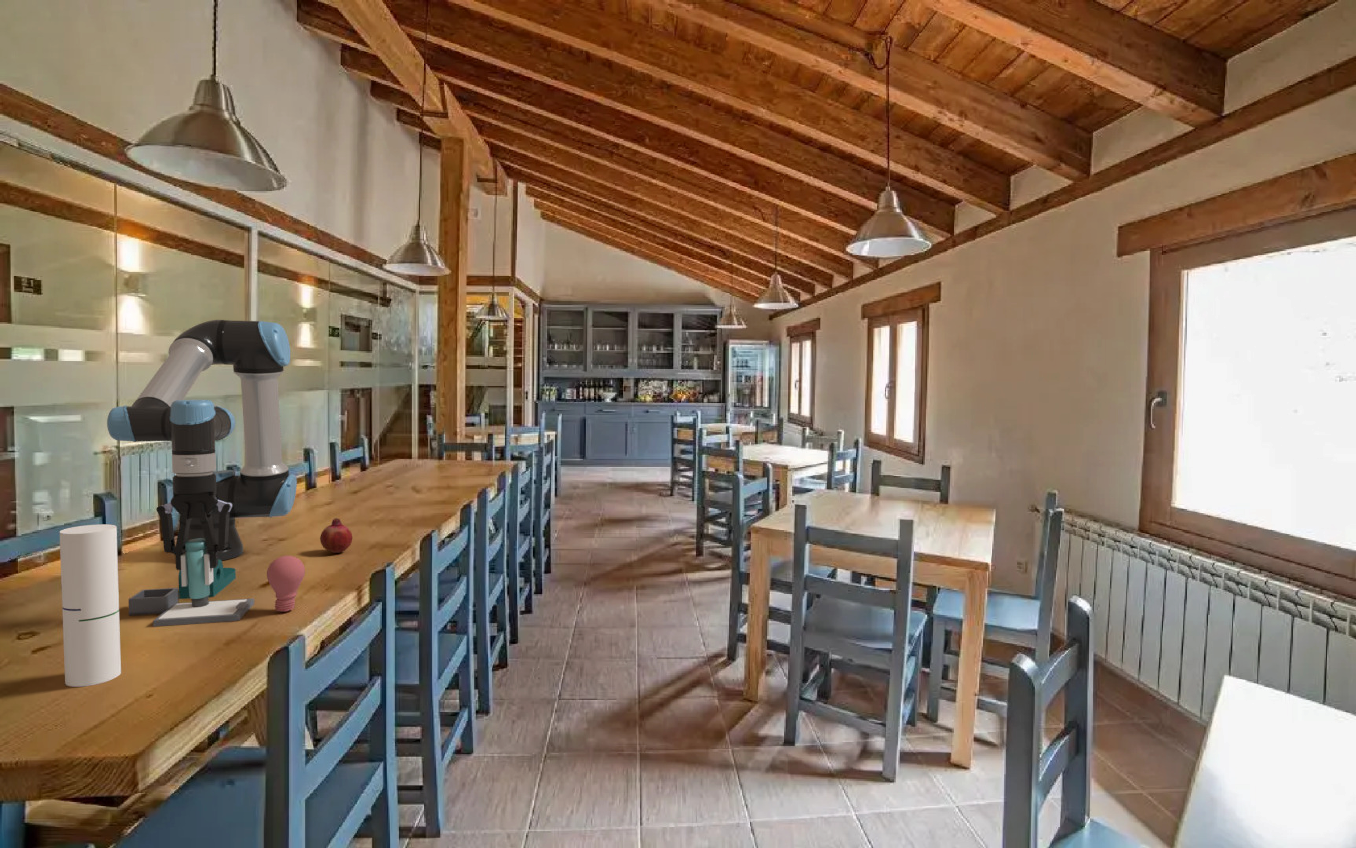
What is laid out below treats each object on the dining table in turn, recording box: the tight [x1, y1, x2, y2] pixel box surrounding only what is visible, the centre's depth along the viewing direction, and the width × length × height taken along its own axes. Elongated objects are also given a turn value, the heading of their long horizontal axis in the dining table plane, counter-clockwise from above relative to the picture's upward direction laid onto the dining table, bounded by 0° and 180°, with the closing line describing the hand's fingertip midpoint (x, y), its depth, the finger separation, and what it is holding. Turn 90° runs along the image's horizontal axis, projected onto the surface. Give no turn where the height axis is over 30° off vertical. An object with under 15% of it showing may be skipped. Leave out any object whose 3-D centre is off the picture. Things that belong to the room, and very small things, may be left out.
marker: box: [185, 538, 210, 607], centre depth 148 cm, size 4×4×14 cm
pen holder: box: [128, 587, 179, 617], centre depth 150 cm, size 7×7×4 cm
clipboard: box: [152, 598, 255, 627], centre depth 147 cm, size 11×15×2 cm
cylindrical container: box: [59, 523, 122, 688], centre depth 116 cm, size 7×7×25 cm
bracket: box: [178, 559, 237, 600], centre depth 166 cm, size 18×7×8 cm, turn 16°
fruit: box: [319, 517, 353, 554], centre depth 199 cm, size 8×8×10 cm
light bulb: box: [266, 555, 306, 613], centre depth 150 cm, size 7×7×12 cm
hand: (197, 583), depth 148 cm, fingers closed on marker, 3 cm apart
